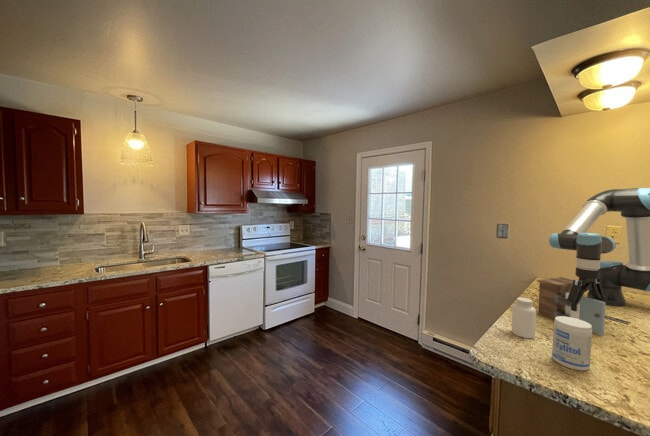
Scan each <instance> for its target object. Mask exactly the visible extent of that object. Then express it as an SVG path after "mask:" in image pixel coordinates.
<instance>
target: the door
mask: <svg viewBox="0 0 650 436" xmlns="http://www.w3.org/2000/svg"><path fill="white" fill-rule="evenodd" d="M568 296H569V292H566V299H567V298H568ZM605 303H606V302H602V301H598V300H595V299H591V298H587V296H584V295H583V296H582V298H581V300H580V301H579V303H578V304H580V311H579V320H582V321H585V322H587V323H589V324H590V325H591V326H592V334H595V335H599V336H602V337H603V336H605V325H606V324H605V322H606V318H605V315H606V305H605ZM565 315H568V316H570V317H571V306H570V307H569V306H566V305H565Z"/></svg>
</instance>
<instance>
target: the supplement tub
mask: <svg viewBox="0 0 650 436" xmlns="http://www.w3.org/2000/svg"><path fill="white" fill-rule="evenodd" d="M552 331H553V335H552V348H551V357H552V359H553V360H554V361H555V362H556V363H558V364H559V365H561V366H563V367H566V368H569V369H572V370H576V371H588V370H589V369H590V368H591V354H592V339H593V332H592V326H591V325H590V324H589V323H587V322H585V321H582V320H579V319H576V318H572V317H565V316H557V317H555V320H554V322H553V330H552Z"/></svg>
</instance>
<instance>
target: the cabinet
mask: <svg viewBox="0 0 650 436" xmlns="http://www.w3.org/2000/svg"><path fill="white" fill-rule="evenodd" d="M573 280H574V279H570V278H565V277H563V276H561V277H553V278H550V277H549V278H543V279H537V283H538V284H539V287H538V289H539V292H538V311H537V312H538V315H540V316H544V317H546V318H549V319H552V320H554V321H555V317H557V316H565V317H570V316H568V315H565V305H566V306H569V307H570V306H571V302H568V301H567V299H566V292H569V293H570V290H571V288H572V285H573Z"/></svg>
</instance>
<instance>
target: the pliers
mask: <svg viewBox="0 0 650 436" xmlns="http://www.w3.org/2000/svg"><path fill="white" fill-rule="evenodd" d="M606 319H607V320H610V321H613V322H616V323H619V324H624V325H629V324H631V325H632V322H631V321H628V320H624V319H621V318H617V317H613V316H610V315H606V314H605V320H606Z"/></svg>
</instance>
